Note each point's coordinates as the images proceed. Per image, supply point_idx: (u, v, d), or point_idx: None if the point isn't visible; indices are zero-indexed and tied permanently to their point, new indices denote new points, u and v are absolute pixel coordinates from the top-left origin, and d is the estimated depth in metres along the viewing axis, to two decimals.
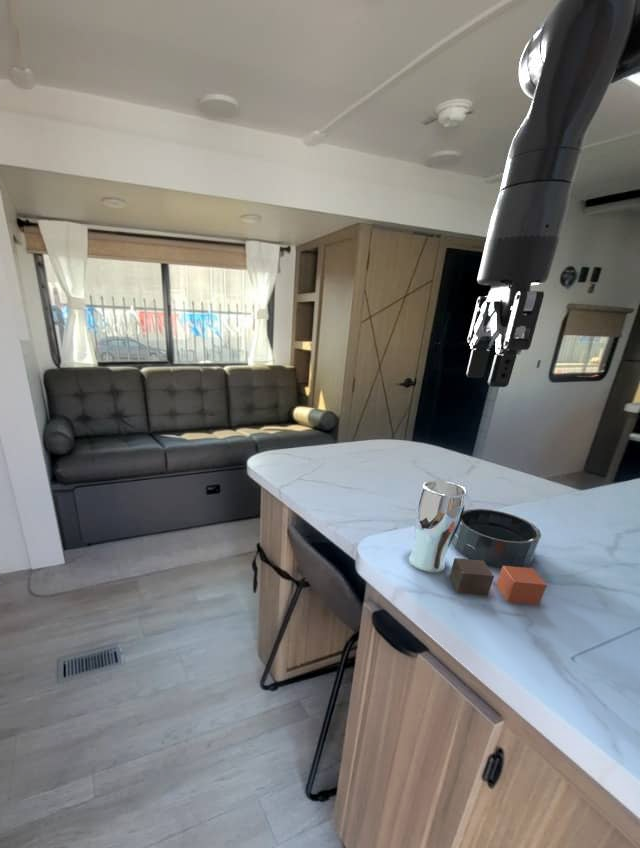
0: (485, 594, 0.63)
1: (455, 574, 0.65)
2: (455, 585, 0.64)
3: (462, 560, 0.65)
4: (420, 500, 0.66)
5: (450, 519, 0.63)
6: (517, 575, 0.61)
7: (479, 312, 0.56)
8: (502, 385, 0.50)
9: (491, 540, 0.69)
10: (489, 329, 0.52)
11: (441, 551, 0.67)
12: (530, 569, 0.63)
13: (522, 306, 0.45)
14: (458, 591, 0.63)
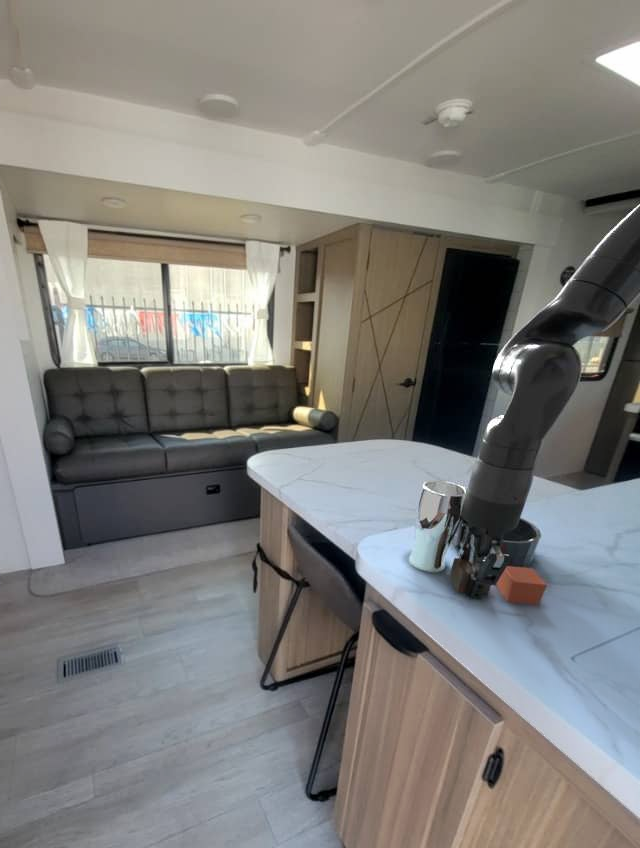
0: (485, 594, 0.63)
1: (455, 574, 0.65)
2: (455, 585, 0.64)
3: (462, 560, 0.65)
4: (420, 500, 0.66)
5: (450, 519, 0.63)
6: (517, 575, 0.61)
7: (463, 527, 0.66)
8: None
9: None
10: (471, 549, 0.62)
11: (441, 551, 0.67)
12: (530, 569, 0.63)
13: (491, 565, 0.56)
14: (458, 591, 0.63)
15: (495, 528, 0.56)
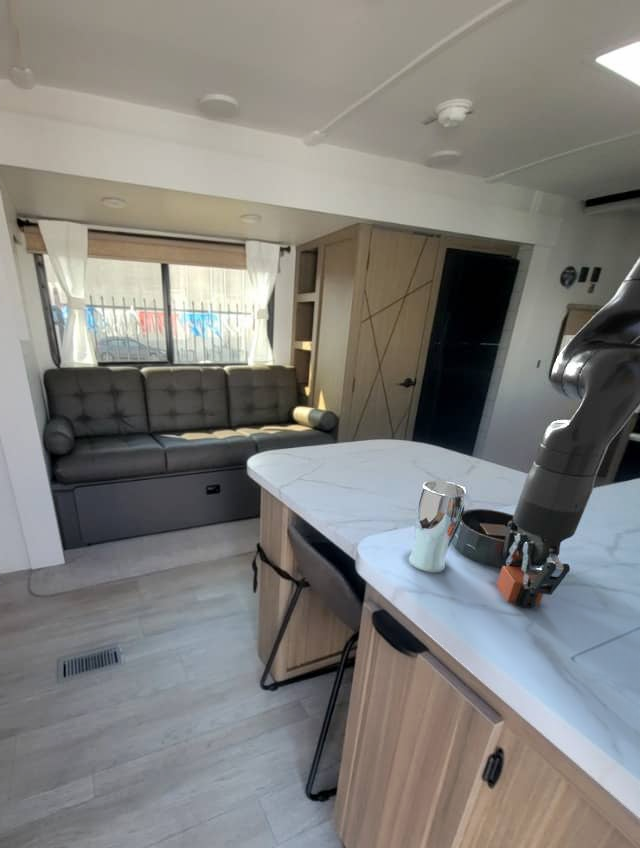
0: None
1: None
2: None
3: (486, 524, 0.75)
4: (420, 500, 0.66)
5: (450, 519, 0.63)
6: (517, 575, 0.61)
7: (511, 533, 0.65)
8: None
9: (491, 540, 0.69)
10: (522, 556, 0.61)
11: (441, 551, 0.67)
12: None
13: (549, 574, 0.54)
14: None
15: (553, 536, 0.55)
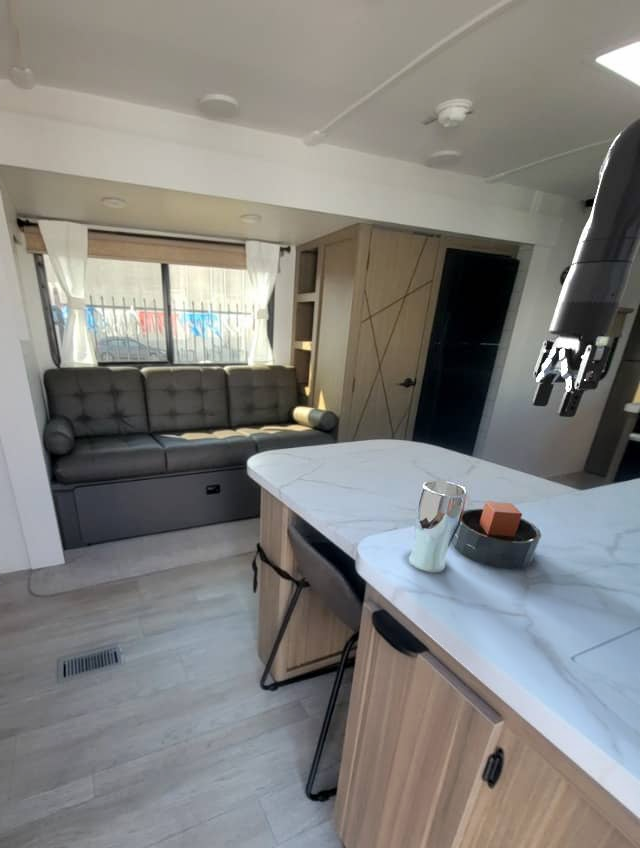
0: None
1: None
2: None
3: None
4: (420, 500, 0.66)
5: (450, 519, 0.63)
6: (498, 507, 0.72)
7: (545, 353, 0.68)
8: (569, 416, 0.63)
9: (491, 540, 0.69)
10: (557, 369, 0.64)
11: (441, 551, 0.67)
12: (509, 503, 0.73)
13: (592, 356, 0.57)
14: None
15: (590, 331, 0.58)
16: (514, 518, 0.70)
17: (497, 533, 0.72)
